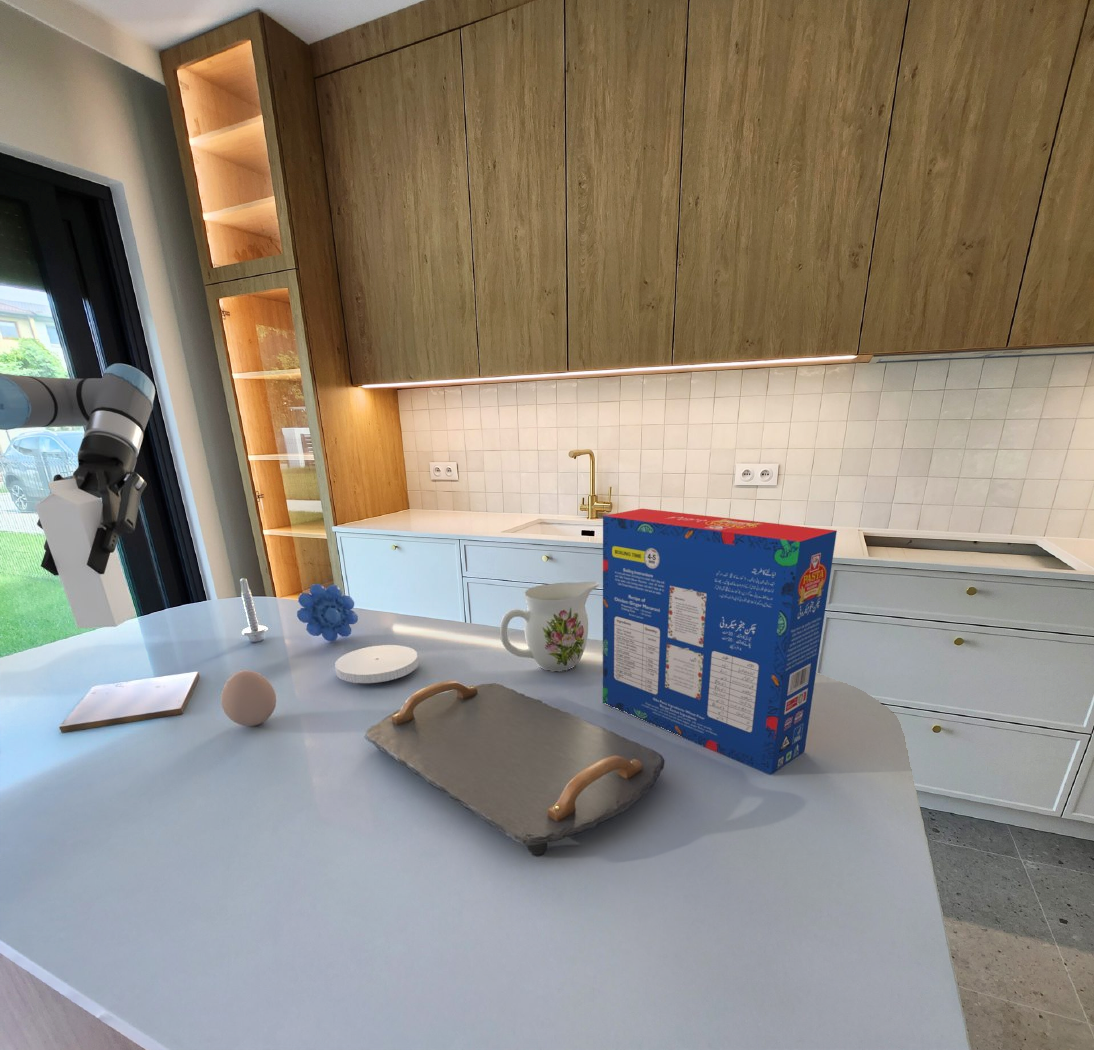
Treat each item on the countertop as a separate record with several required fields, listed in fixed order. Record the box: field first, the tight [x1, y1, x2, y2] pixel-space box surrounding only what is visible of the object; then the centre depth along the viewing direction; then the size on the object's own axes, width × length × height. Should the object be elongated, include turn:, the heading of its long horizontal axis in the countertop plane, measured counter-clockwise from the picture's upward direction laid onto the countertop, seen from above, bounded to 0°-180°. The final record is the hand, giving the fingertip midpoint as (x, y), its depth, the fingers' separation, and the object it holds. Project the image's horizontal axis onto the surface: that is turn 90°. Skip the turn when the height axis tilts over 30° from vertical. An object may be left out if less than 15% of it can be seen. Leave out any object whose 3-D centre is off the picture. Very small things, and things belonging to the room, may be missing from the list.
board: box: [59, 670, 200, 734], centre depth 100 cm, size 16×16×1 cm
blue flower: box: [296, 583, 359, 642], centre depth 122 cm, size 12×7×12 cm, turn 128°
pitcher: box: [499, 581, 600, 672], centre depth 106 cm, size 11×18×14 cm, turn 110°
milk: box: [34, 478, 137, 629], centre depth 96 cm, size 6×6×22 cm
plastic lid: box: [334, 644, 420, 684], centre depth 108 cm, size 14×14×2 cm
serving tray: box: [363, 680, 666, 857], centre depth 78 cm, size 39×23×6 cm, turn 43°
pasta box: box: [602, 508, 838, 776], centre depth 81 cm, size 28×8×28 cm, turn 41°
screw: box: [239, 577, 269, 643], centre depth 124 cm, size 13×5×5 cm
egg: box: [220, 669, 277, 727], centre depth 90 cm, size 7×7×8 cm
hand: (72, 569), depth 93 cm, fingers closed on milk, 6 cm apart
